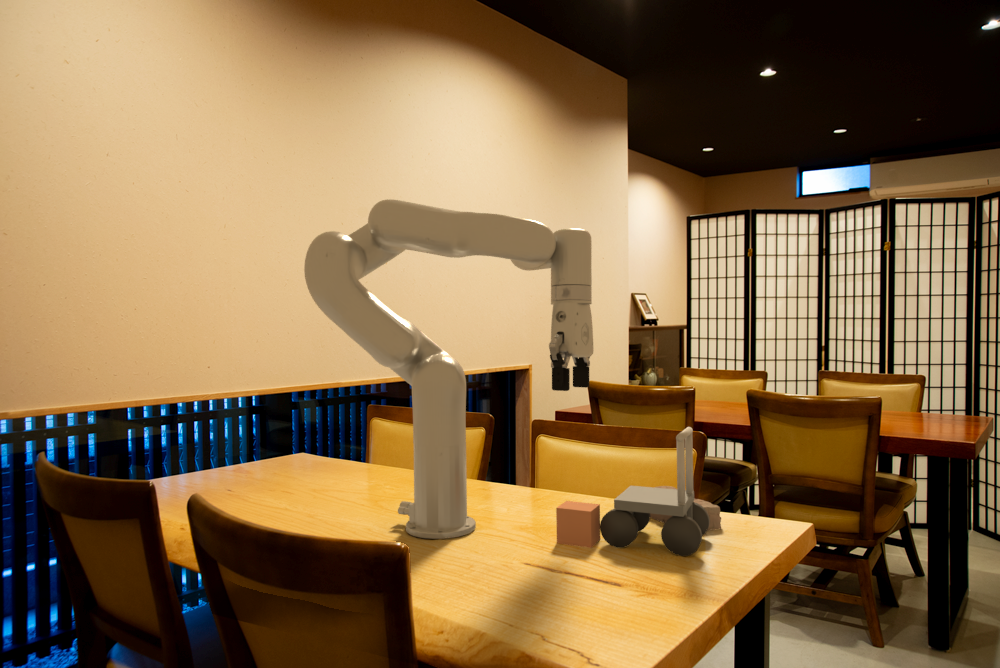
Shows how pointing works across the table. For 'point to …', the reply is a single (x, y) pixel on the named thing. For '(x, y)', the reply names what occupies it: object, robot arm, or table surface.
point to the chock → (578, 524)
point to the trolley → (661, 509)
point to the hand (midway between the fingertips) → (571, 388)
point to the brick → (710, 508)
